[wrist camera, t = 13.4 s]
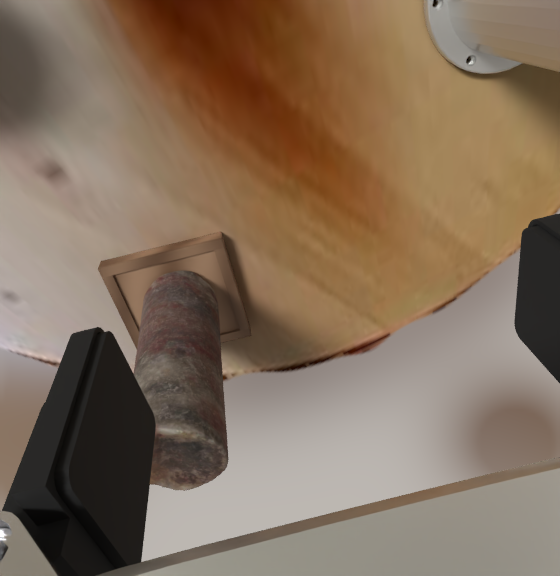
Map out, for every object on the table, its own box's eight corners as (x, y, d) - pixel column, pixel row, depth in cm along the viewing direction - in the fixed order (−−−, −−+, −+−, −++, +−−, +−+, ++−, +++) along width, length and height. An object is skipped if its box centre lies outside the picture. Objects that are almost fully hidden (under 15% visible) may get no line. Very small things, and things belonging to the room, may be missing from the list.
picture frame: (221, 231, 47) (221, 238, 46) (250, 327, 53) (251, 335, 52) (100, 261, 47) (97, 269, 46) (144, 353, 53) (143, 362, 52)
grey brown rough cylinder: (233, 308, 50) (248, 470, 33) (177, 342, 52) (164, 515, 35) (188, 255, 46) (179, 409, 30) (128, 294, 48) (87, 462, 31)
